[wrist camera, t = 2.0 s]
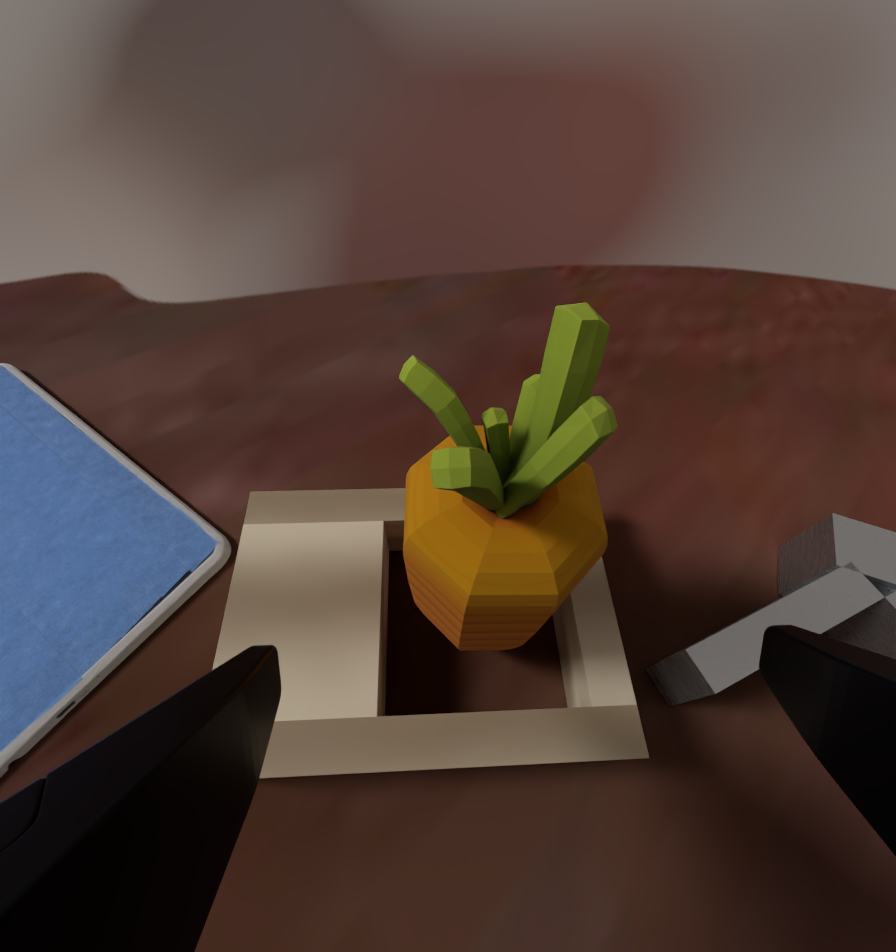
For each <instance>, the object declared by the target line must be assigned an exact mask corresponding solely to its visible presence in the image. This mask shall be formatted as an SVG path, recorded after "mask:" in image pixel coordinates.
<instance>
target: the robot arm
mask: <svg viewBox="0 0 896 952" xmlns="http://www.w3.org/2000/svg"><path fill="white" fill-rule="evenodd" d="M759 670H760V674H761V676H762V678H763V680H764V682H765V683H766V685H767V686H768V688H769V689H770V690H771V692H772V693H773V695H774V696H775V698H776V699H777V701H778V702H779V704H780V705H781V707H782V708H783V710H784V711H785V712H786V714H787V715H788V717H789V718H790V720H791V721H792V723H793V724H794V726H795V727H796V729H797V730H798V731H799V733H800V734H801V736H802V737H803V739H804V740H805V742H806V743H807V745H808V746H809V747H810V749H811V750H812V752H813V753H814V754H815V756H816V757H817V759H818V760H819V761H820V763H821V764H822V765H823V766H824V768H825V769H826V770H827V772H828V773H829V774H830V775H831V777H832V778H833V779H834V780H835V782H836V783H837V784H838V785H839V787H840V788H841V789H842V790H843V791H844V793H845V794H846V795H847V796H848V798H849V799H850V800H851V801H852V803H853V804H854V805H855V806H856V808H857V809H858V810H859V811H860V813H861V814H862V815H863V816H864V818H865V819H866V820H867V821H868V823H869V824H870V825H871V826H872V828H873V829H874V830H875V831H876V833H877V834H878V835H879V836H880V837H881V839H882V840H883V841H884V842H885V844H886V845H887V846H888V847H889V849H890V850H891V851H892V852H893V854H894V855H895V856H896V659H894V658H891V657H888V656H885V655H882V654H879V653H876V652H873V651H870V650H866V649H863V648H860V647H857V646H854V645H851V644H848V643H845V642H842V641H839V640H836V639H833V638H830V637H827V636H824V635H821V634H818V633H815V632H812V631H809V630H806V629H803V628H800V627H797V626H793V625H772V626H769V627H767V628H766V630H765V631H764V635H763V641H762V648H761V654H760V660H759ZM280 698H281V677H280V667H279V658H278V651H277V648H276V647H275V646H274V645H254V646H251V647H249V648H247V649H246V650H244V651H242V652H241V653H239V654H238V655H236V656H234V657H233V658H231V659H230V660H228V661H226V662H225V663H223V664H222V665H220V666H218V667H217V668H215V669H214V670H212V671H210V672H209V673H207V674H206V675H204V676H202V677H201V678H199V679H198V680H196V681H194V682H193V683H191V684H190V685H188V686H186V687H185V688H183V689H182V690H180V691H179V692H177V693H175V694H174V695H172V696H171V697H169V698H167V699H166V700H164V701H163V702H161V703H159V704H158V705H156V706H155V707H153V708H151V709H150V710H148V711H147V712H145V713H143V714H142V715H140V716H139V717H137V718H135V719H134V720H132V721H131V722H129V723H127V724H126V725H124V726H123V727H121V728H119V729H118V730H116V731H115V732H113V733H111V734H110V735H108V736H107V737H105V738H103V739H102V740H100V741H99V742H97V743H95V744H94V745H92V746H91V747H89V748H88V749H86V750H84V751H83V752H81V753H80V754H78V755H76V756H75V757H73V758H72V759H70V760H68V761H67V762H65V763H64V764H62V765H60V766H59V767H57V768H56V769H54V770H52V771H51V772H49V773H48V774H47V776H46V779H45V778H39V779H38V780H36V781H35V782H33V783H31V784H30V785H28V786H27V787H25V788H24V789H22V790H20V791H19V792H17V793H16V794H14V795H12V796H11V797H9V798H8V799H6V800H4V801H3V802H1V803H0V952H194V951H195V949H196V946H197V944H198V941H199V938H200V936H201V933H202V930H203V928H204V925H205V923H206V920H207V917H208V915H209V912H210V909H211V907H212V904H213V902H214V899H215V896H216V894H217V891H218V888H219V886H220V883H221V881H222V878H223V875H224V873H225V870H226V867H227V865H228V862H229V860H230V857H231V854H232V852H233V849H234V846H235V844H236V841H237V839H238V836H239V833H240V831H241V828H242V825H243V823H244V820H245V818H246V815H247V812H248V810H249V807H250V804H251V802H252V799H253V796H254V793H255V790H256V787H257V784H258V781H259V777H260V774H261V770H262V766H263V763H264V759H265V755H266V751H267V747H268V744H269V740H270V736H271V732H272V729H273V725H274V721H275V717H276V714H277V710H278V706H279V702H280Z"/></svg>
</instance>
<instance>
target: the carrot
mask: <svg viewBox="0 0 896 952" xmlns="http://www.w3.org/2000/svg"><path fill="white" fill-rule="evenodd" d="M609 331H610V326H609V325H608V324H607V323H606V322H605V321H604V320H603V319H602V318H601V317H600V316H599V315H598V314H597V313H596V312H595V311H594V310H593V309H592V308H591V307H590V306H589V305H588V304H587V303H578V304H569V305H561V306H556V307H555V312H554V316H553V320H552V324H551V328H550V332H549V336H548V341H547V345H546V349H545V353H544V358H543V363H542V369H541V374H535V375H533V376H531V377H530V378H528V379H527V380H525V381H524V382H523V386H522V390H521V394H520V397H519V401H518V405H517V409H516V413H515V417H514V420H513V425H512V426H509V424H508V418H507V414H506V412H505V411H504V410H503V409H502V408H490V409H488V410H487V411H485V412H484V413H482V420H483V426H474V425H473V423H472V421H471V419H470V417H469V415H468V413H467V412H466V410H465V408H464V407H463V405H462V403H461V402H460V400H459V398H458V397H457V395H456V393H455V392H454V390H453V389H452V388H451V387H450V386H449V385H448V384H447V383H446V382H445V381H444V380H443V379H442V378H441V377H440V376H439V375H438V374H437V373H436V372H435V371H434V370H432V369H431V368H430V367H428V366H427V365H426V364H424V363H423V362H421V361H420V360H419V359H417V358H416V357H415V356H411V357H410V358H409V359H408V361H407V362H406V363H405V364H404V365H403V368H402V370H401V373H400V375H399V379H400V380H401V381H402V382H403V383H404V384H405V385H406V387H407V388H408V389H409V390H410V391H411V392H412V393H413V394H414V395H415V396H416V397H417V398H419V399H420V400H421V401H422V402H423V403H424V404H425V405H426V406H427V407H428V408H430V409H431V410H432V412H433V413H434V414H435V416H436V417H437V418H438V420H439V421H440V423H441V424H442V425H443V427H444V428H445V429H446V431H447V432H448V434H449V435H450V436H449V437H447V438H446V439H445V440H444V441H443V442H441V443H440V444H439V445H438V446H436V447H435V448H434V449H433V450H431V451H430V452H429V453H428V454H426V455H425V456H424V457H423V458H421V459H420V460H419V461H418V462H417V463H415V464H414V465H413V466H412V467H410V469H409V471H408V473H407V475H406V491H405V517H404V543H403V557H404V562H405V567H406V572H407V577H408V582H409V585H410V589H411V592H412V595H413V599H414V602H415V604H416V605H417V606H418V608H419V609H420V610H421V612H422V613H423V614H424V615H425V616H426V617H427V618H428V619H429V620H430V621H431V622H432V623H433V624H434V625H435V626H436V627H437V628H438V629H439V630H440V631H441V632H442V633H443V634H444V635H445V636H446V637H447V638H448V639H449V640H450V641H451V642H452V643H453V644H454V645H455V646H456V647H457V648H458V649H459V650H460V651H482V650H509V649H513V648H516V647H520V646H522V645H523V644H524V643H525V642H526V641H528V640H529V639H530V638H531V637H532V636H533V635H534V634H535V633H536V632H537V631H538V630H539V629H540V628H541V627H542V625H543V624H544V623H545V622H546V621H547V620H548V619H549V618H550V616H551V615H552V614H553V613H554V612H555V611H556V610H557V608H558V607H559V606H560V605H561V604H562V602H563V601H564V600H565V599H566V598H567V597H568V595H569V594H570V593H571V592H572V591H573V589H574V588H575V587H576V586H577V585H578V584H579V582H580V581H581V580H582V579H583V578H584V576H585V575H586V574H587V573H588V572H589V571H590V569H591V568H592V567H593V566H594V565H595V563H596V562H597V561H598V560H599V559H600V557H601V556H602V555H603V554H604V552H605V550H606V548H607V543H608V536H607V531H606V527H605V522H604V517H603V513H602V508H601V504H600V499H599V495H598V490H597V486H596V481H595V477H594V472H593V468H592V467H591V466H589V465H588V464H586V463H585V462H584V461H585V460H586V459H587V458H588V457H589V456H590V455H591V454H592V453H593V452H594V451H595V450H596V449H597V448H598V447H599V446H600V445H601V444H602V443H603V442H604V441H605V440H606V439H607V438H608V437H609V436H610V435H611V434H612V433H613V432H614V431H615V430H616V429H617V428H618V426H617V422H616V418H615V415H614V411H613V408H612V407H611V406H610V405H609V404H608V403H607V402H606V401H605V400H604V399H603V398H602V396H593V397H591V398H590V396H591V393H592V390H593V387H594V384H595V381H596V379H597V376H598V373H599V369H600V366H601V362H602V358H603V354H604V350H605V346H606V343H607V339H608V335H609ZM589 398H590V399H589Z"/></svg>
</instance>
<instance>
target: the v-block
mask: <svg viewBox="0 0 896 952" xmlns="http://www.w3.org/2000/svg"><path fill="white" fill-rule="evenodd" d="M778 595H781V596H782V597H780V598H778V599H776V600H774V601H773V602H771V603H769V604H767V605H765V606H763V607H761V608H759V609H757V610H756V611H754V612H752V613H750V614H748V615H746V616H744V617H742V618H740V619H739V620H737V621H735V622H733V623H731V624H729V625H727V626H725V627H723V628H722V629H720V630H718V631H716V632H714V633H712V634H710V635H708V636H706V637H705V638H703V639H701V640H699V641H697V642H695V643H693V644H691V645H689V646H688V647H686V648H684V649H682V650H680V651H678V652H676V653H674V654H672V655H671V656H669V657H667V658H665V659H663V660H661V661H659V662H657V663H655V664H654V665H652V666H650V667H648V668H646V671H647V672H648V674H649V675H650V677H651V679H652V680H653V682H654V683H655V685H656V687H657V688H658V690H659V691H660V693H661V695H662V696H663V698H664V699H665V701H666V703H667V704H668V706H673V705H677V704H680V703H684V702H688V701H691V700H695V699H699V698H703V697H706V696H710V695H714V694H716V693H718V692H720V691H722V690H723V689H725V688H727V687H729V686H730V685H732V684H734V683H736V682H737V681H739V680H741V679H743V678H744V677H746V676H748V675H750V674H751V673H753V672H755V671H757V670H758V669H759V660H760V654H761V648H762V641H763V635H764V631H765V630H766V628H767V627H769V626H772V625H793V626H797V627H800V628H803V629H806V630H809V631H812V632H815V633H818V634H821V633H823V632H826V633H827V634H828V636H829V637H830V638H833V639H836V640H839V641H842V642H845V643H848V644H851V645H854V646H857V647H860V648H863V649H866V650H870V651H873V652H876V653H879V654H882V655H885V656H888V657H891V658H894V659H896V532H892V531H889V530H886V529H883V528H879V527H876V526H873V525H870V524H866V523H863V522H860V521H857V520H853V519H850V518H847V517H844V516H840V515H837V514H834V513H832V514H830V515H829V516H827V517H825V518H824V519H822V520H821V521H819V522H818V523H816V524H815V525H813V526H812V527H810V528H808V529H807V530H805V531H804V532H802V533H801V534H799V535H798V536H796V537H794V538H793V539H791V540H790V541H788V542H787V543H785V544H784V545H782V546H780V547H779V548H778Z"/></svg>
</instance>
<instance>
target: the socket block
mask: <svg viewBox="0 0 896 952" xmlns="http://www.w3.org/2000/svg"><path fill="white" fill-rule="evenodd" d="M405 491H406V488H395V489H350V490H305V491H261V492H250V497H249V501H248V506H247V511H246V515H245V520H244V525H243V529H242V534H241V539H240V543H239V548H238V553H237V557H236V562H235V567H234V571H233V576H232V581H231V585H230V590H229V595H228V599H227V604H226V609H225V614H224V618H223V623H222V628H221V632H220V637H219V642H218V646H217V651H216V656H215V660H214V665H213V670H214V669H215V668H217V667H218V666H220V665H222V664H223V663H225V662H226V661H228V660H230V659H231V658H233V657H234V656H236V655H238V654H239V653H241V652H242V651H244V650H246V649H247V648H249V647H251V646H254V645H274V646H275V647H276V648H277V651H278V658H279V667H280V677H281V698H280V702H279V706H278V710H277V714H276V717H275V721H274V725H273V729H272V732H271V736H270V740H269V744H268V747H267V751H266V755H265V759H264V763H263V766H262V770H261V774H260V777H259V778H278V777H298V776H317V775H336V774H356V773H375V772H394V771H414V770H433V769H452V768H472V767H491V766H510V765H530V764H549V763H569V762H588V761H607V760H625V759H642V758H649V754H648V750H647V746H646V742H645V737H644V733H643V729H642V725H641V720H640V716H639V712H638V708H637V704H636V699H635V695H634V691H633V687H632V682H631V678H630V674H629V670H628V665H627V661H626V657H625V653H624V649H623V644H622V640H621V636H620V632H619V627H618V623H617V619H616V615H615V610H614V606H613V602H612V598H611V594H610V589H609V585H608V581H607V577H606V572H605V568H604V564H603V560H602V556H601V557H600V559H599V560H598V561H597V562H596V563H595V565H594V566H593V567H592V568H591V569H590V571H589V572H588V573H587V574H586V575H585V576H584V578H583V579H582V580H581V581H580V582H579V584H578V585H577V586H576V587H575V588H574V589H573V591H572V592H571V593H570V594H569V595H568V597H567V598H566V599H565V600H564V601H563V602H562V604H561V605H560V606H559V607H558V608H557V610H556V611H555V612H554V613H553V614H552V615H553V621H554V627H555V633H556V639H557V646H558V652H559V658H560V664H561V670H562V676H563V682H564V688H565V694H566V700H567V707H568V708H554V709H533V710H511V711H489V712H467V713H445V714H424V715H402V716H385V697H386V658H387V619H388V581H389V551H401V550H403V543H404V517H405Z"/></svg>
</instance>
